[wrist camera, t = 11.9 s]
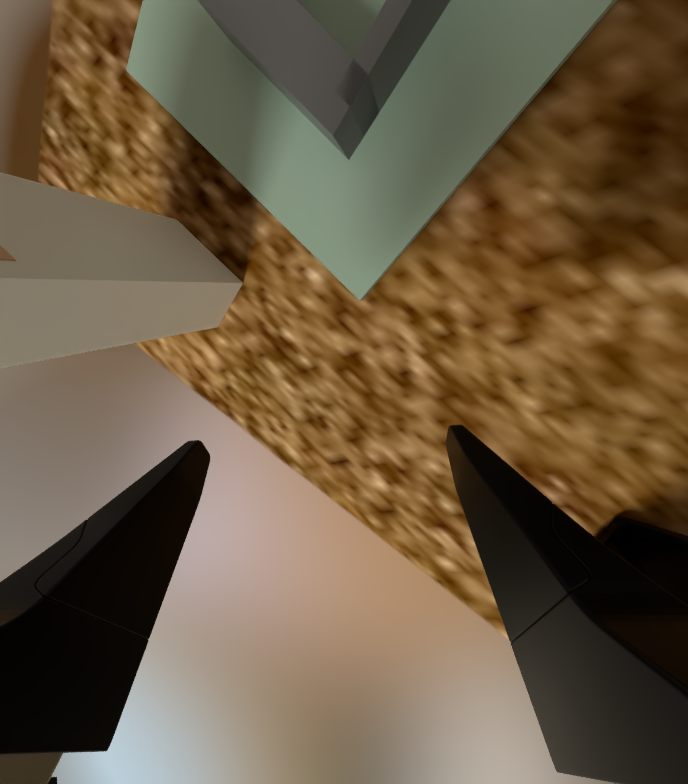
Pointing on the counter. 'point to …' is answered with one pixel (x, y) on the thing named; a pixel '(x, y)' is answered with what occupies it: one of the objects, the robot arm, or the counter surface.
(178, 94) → the green socket board
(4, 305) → the plug
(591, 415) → the counter surface
